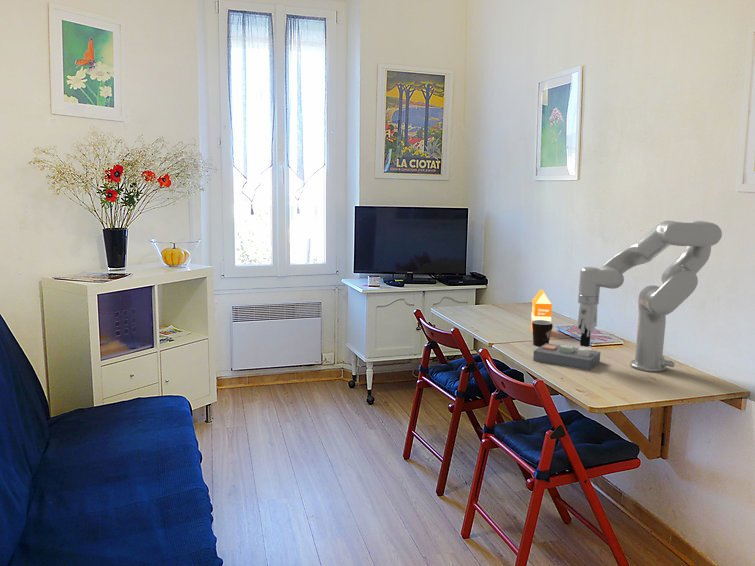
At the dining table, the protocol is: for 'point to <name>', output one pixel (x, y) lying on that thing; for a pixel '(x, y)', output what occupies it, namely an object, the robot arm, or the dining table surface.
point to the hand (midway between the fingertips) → (584, 345)
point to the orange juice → (541, 307)
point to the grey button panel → (566, 358)
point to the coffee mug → (541, 332)
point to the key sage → (567, 349)
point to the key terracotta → (549, 347)
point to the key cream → (585, 352)
